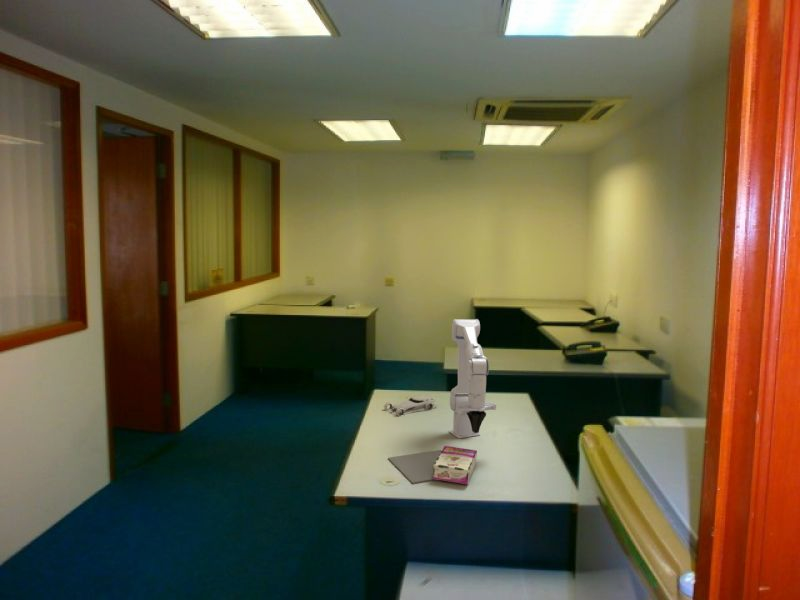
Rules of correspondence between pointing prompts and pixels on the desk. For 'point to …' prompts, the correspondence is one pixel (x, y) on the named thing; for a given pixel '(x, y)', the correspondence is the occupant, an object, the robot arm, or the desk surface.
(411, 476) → the mat
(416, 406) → the car model
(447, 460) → the candy bar box
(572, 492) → the desk surface
